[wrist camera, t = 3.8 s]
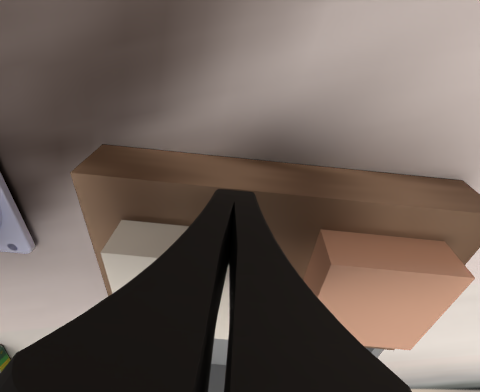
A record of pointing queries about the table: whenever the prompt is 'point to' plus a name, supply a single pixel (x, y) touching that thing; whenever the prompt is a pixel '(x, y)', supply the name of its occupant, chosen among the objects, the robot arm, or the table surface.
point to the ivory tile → (149, 258)
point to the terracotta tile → (385, 284)
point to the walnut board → (273, 199)
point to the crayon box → (3, 358)
